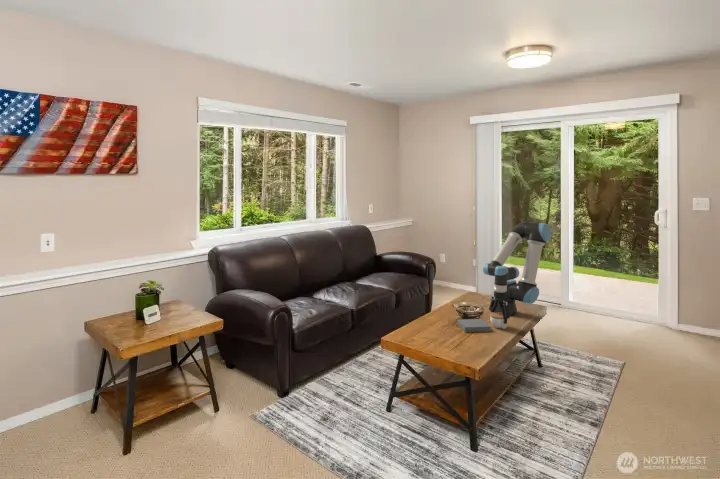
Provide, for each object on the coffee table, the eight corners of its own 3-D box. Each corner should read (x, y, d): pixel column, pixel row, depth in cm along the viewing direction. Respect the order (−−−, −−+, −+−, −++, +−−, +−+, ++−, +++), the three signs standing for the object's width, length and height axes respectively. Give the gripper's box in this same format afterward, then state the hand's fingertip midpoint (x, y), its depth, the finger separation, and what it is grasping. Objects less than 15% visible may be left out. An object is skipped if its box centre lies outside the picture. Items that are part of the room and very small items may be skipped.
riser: (481, 323, 267) (481, 318, 266) (490, 331, 253) (490, 326, 252) (457, 324, 265) (457, 319, 265) (464, 332, 251) (464, 327, 251)
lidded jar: (508, 330, 254) (509, 315, 253) (490, 329, 257) (491, 314, 255) (506, 324, 265) (507, 310, 264) (488, 323, 267) (489, 309, 266)
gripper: (484, 286, 267) (482, 319, 270) (506, 296, 245) (504, 332, 248) (494, 286, 269) (492, 318, 273) (517, 295, 248) (515, 330, 251)
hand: (498, 325), depth 261 cm, fingers closed on lidded jar, 11 cm apart
